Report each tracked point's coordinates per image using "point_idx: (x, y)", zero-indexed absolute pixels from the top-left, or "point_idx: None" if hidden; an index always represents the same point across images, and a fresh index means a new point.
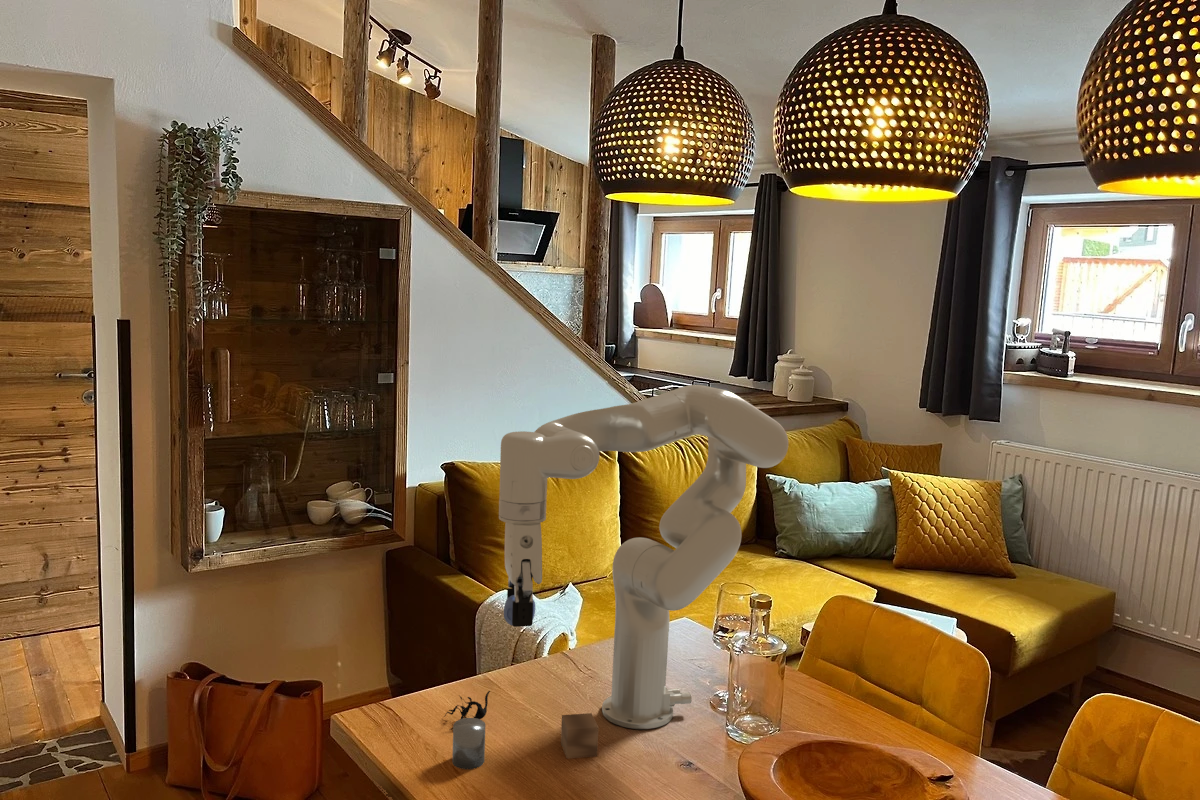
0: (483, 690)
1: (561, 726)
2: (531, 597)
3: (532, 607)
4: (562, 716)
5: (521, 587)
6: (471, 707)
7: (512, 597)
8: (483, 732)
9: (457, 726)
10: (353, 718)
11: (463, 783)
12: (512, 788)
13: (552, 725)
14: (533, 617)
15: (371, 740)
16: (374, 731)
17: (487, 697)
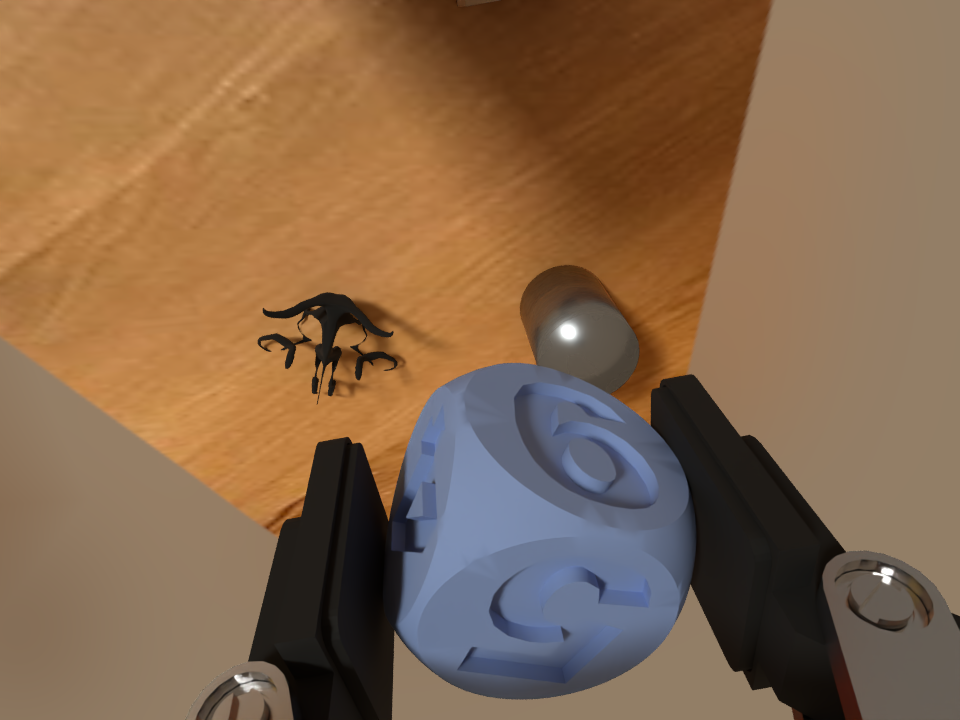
0: (91, 304)
1: (462, 5)
2: (947, 629)
3: (776, 491)
4: (478, 3)
5: (333, 699)
6: (281, 336)
7: (518, 677)
8: (613, 311)
9: None
10: None
11: (671, 306)
12: (721, 179)
13: (316, 37)
14: (497, 369)
15: None
16: None
17: (287, 310)
